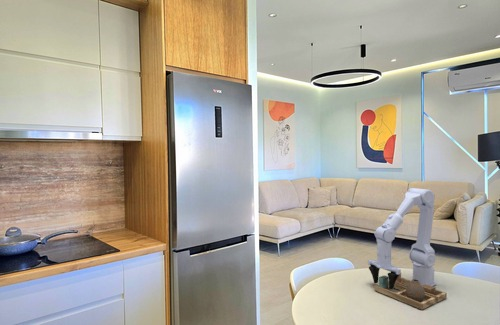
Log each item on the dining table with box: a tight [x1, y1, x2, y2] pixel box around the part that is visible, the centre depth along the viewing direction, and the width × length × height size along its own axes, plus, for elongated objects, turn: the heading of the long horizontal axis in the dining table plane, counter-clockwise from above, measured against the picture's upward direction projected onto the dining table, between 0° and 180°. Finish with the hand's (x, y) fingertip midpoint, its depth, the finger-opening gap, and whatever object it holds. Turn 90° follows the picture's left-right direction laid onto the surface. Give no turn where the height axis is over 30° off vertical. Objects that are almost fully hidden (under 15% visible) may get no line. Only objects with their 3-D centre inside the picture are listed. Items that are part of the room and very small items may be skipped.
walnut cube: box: [422, 284, 437, 296], centre depth 131 cm, size 4×4×4 cm
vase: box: [405, 278, 425, 303], centre depth 125 cm, size 7×7×9 cm
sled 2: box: [395, 273, 447, 303], centre depth 135 cm, size 8×20×5 cm, turn 33°
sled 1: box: [373, 275, 437, 310], centre depth 129 cm, size 10×20×5 cm, turn 33°
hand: (383, 285), depth 137 cm, fingers open, 7 cm apart
